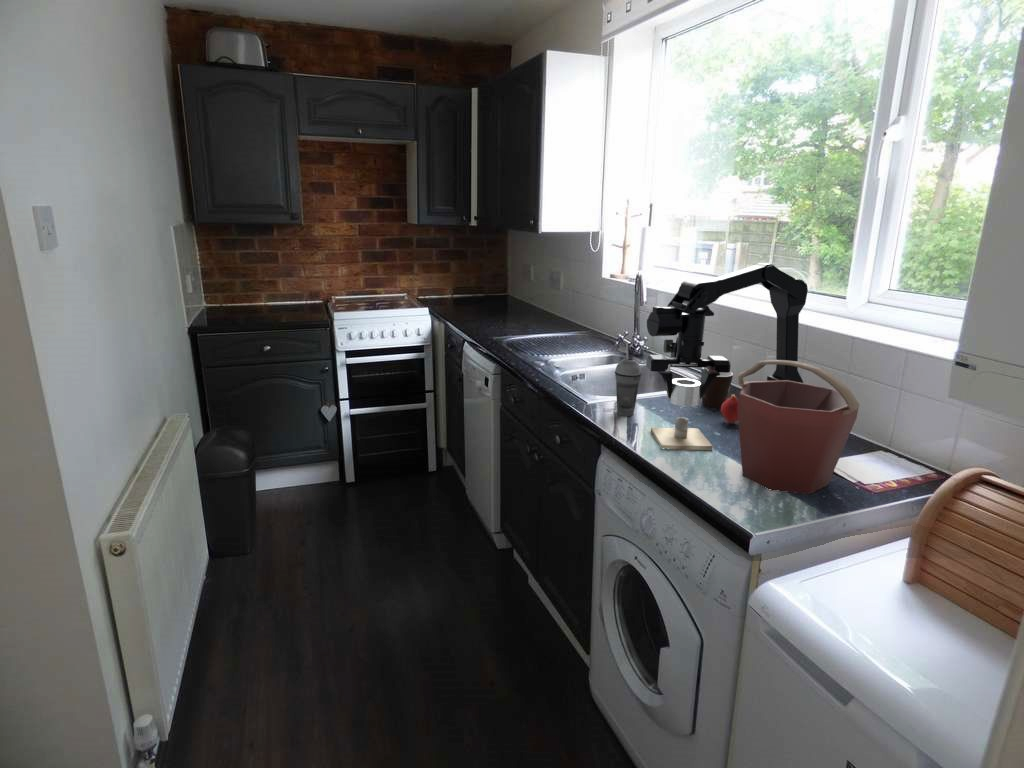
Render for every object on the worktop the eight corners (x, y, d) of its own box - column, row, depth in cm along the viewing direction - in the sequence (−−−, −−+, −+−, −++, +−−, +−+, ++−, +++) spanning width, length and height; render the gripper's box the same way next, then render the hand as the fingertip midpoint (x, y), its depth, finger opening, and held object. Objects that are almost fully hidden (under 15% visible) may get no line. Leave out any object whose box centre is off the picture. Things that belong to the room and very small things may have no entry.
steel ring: (702, 406, 147) (704, 386, 146) (673, 406, 147) (675, 386, 146) (694, 397, 154) (696, 378, 153) (665, 397, 154) (667, 378, 153)
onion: (741, 421, 168) (745, 392, 166) (743, 428, 163) (746, 398, 160) (718, 418, 170) (722, 390, 167) (719, 425, 164) (723, 396, 162)
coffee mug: (723, 412, 175) (727, 378, 172) (693, 406, 180) (697, 373, 177) (736, 402, 183) (740, 370, 181) (708, 397, 188) (711, 365, 186)
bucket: (705, 462, 141) (717, 354, 134) (778, 448, 149) (793, 347, 142) (791, 510, 119) (811, 385, 112) (870, 491, 128) (894, 374, 121)
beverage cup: (626, 419, 168) (632, 347, 162) (606, 412, 173) (611, 342, 167) (644, 414, 172) (649, 343, 167) (623, 407, 178) (628, 338, 172)
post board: (697, 431, 159) (699, 409, 158) (712, 449, 148) (714, 426, 146) (650, 431, 159) (652, 409, 158) (661, 449, 148) (663, 425, 146)
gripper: (719, 328, 154) (712, 388, 158) (643, 327, 154) (639, 387, 158) (734, 338, 143) (727, 402, 148) (654, 336, 143) (648, 401, 147)
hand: (684, 397), depth 150 cm, fingers closed on steel ring, 7 cm apart
